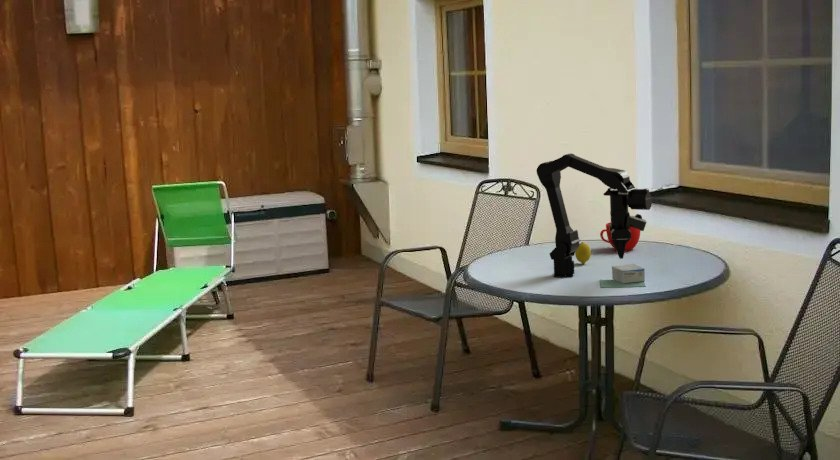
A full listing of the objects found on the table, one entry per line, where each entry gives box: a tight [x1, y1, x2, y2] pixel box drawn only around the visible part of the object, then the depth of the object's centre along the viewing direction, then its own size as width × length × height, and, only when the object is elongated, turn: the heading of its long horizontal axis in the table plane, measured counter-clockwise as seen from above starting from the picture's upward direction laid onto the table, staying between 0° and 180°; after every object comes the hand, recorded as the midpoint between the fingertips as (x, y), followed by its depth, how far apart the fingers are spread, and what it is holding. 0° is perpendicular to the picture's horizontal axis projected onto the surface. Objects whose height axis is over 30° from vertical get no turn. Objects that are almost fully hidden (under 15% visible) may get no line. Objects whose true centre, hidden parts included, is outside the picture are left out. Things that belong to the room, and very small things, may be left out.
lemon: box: [574, 241, 592, 265], centre depth 347 cm, size 6×6×8 cm
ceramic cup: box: [599, 221, 641, 252], centre depth 367 cm, size 13×17×10 cm
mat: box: [599, 279, 646, 289], centre depth 313 cm, size 14×10×1 cm
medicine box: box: [611, 263, 646, 284], centre depth 316 cm, size 8×4×9 cm
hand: (620, 255), depth 318 cm, fingers open, 9 cm apart
